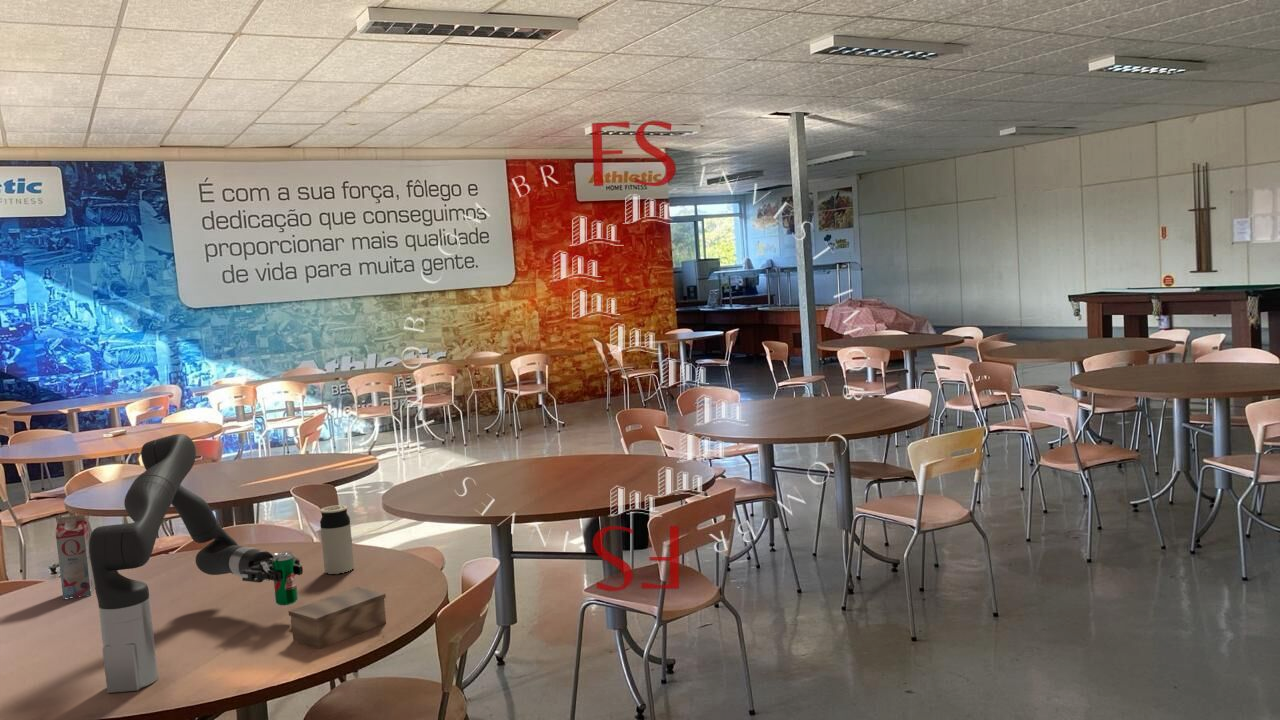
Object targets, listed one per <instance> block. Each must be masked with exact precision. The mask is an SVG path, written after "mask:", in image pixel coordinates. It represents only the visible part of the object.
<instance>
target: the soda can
mask: <svg viewBox="0 0 1280 720" xmlns="http://www.w3.org/2000/svg"><path fill="white" fill-rule="evenodd" d="M272 555H273V558H272V569H273V570H274V571H278V572H280V573H281V581H279V582H276V581H273V590H274V601H275V603H276V605H278V606H289V605H292V604H295V603H296V602H297V601H298V599H299V596H298V585H297V575H296V572H295V561H294V557H295V556H294V555H293V552H292V551H280V552H276V553H273V554H272Z"/></svg>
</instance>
